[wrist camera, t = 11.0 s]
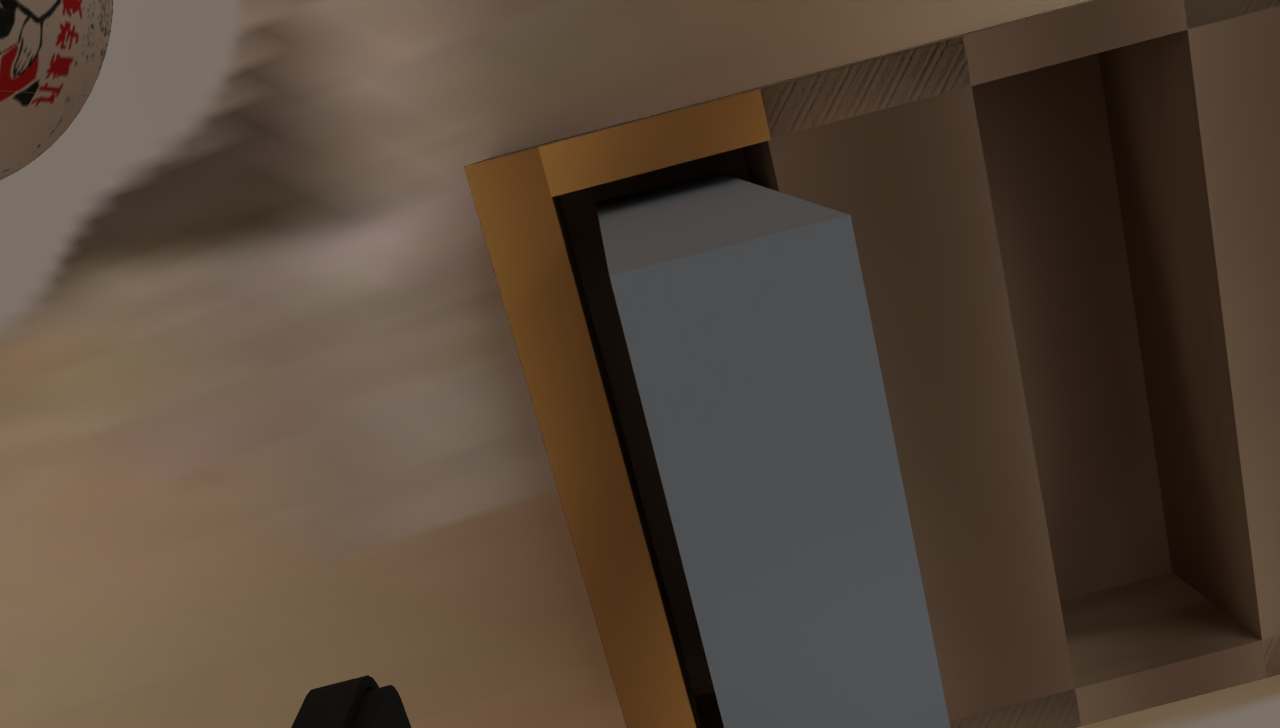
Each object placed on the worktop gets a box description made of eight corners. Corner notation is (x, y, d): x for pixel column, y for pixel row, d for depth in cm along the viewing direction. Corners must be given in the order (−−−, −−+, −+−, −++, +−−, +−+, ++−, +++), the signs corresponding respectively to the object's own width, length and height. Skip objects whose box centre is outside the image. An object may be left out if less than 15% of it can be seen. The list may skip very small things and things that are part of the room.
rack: (645, 704, 24) (661, 846, 19) (490, 158, 21) (464, 167, 16) (1484, 486, 24) (1706, 574, 19) (1448, -94, 21) (1700, -158, 16)
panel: (711, 661, 22) (814, 1086, 12) (595, 202, 20) (609, 276, 10) (820, 634, 22) (1010, 1036, 12) (717, 171, 20) (850, 214, 10)
